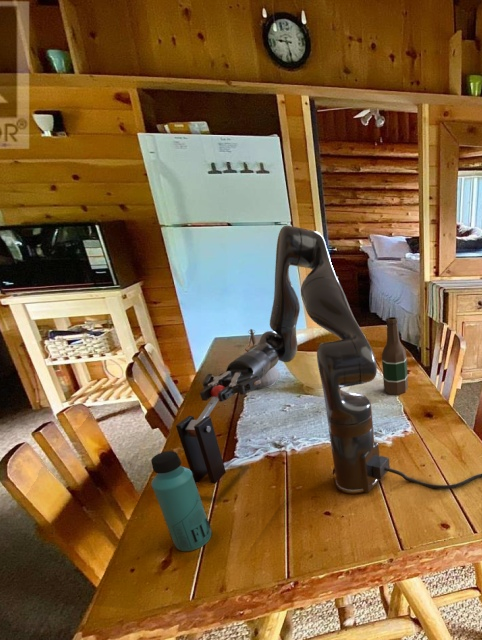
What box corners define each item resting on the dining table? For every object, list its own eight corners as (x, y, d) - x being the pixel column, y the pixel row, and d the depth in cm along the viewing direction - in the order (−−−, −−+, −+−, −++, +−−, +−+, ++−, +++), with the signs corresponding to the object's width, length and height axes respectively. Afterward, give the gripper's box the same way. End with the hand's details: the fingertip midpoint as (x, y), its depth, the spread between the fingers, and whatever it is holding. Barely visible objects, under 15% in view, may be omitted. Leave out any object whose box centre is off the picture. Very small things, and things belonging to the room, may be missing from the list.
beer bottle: (412, 388, 144) (410, 317, 134) (398, 397, 139) (394, 323, 128) (394, 383, 148) (389, 313, 137) (379, 391, 142) (373, 319, 131)
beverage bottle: (199, 560, 79) (166, 469, 70) (167, 555, 80) (131, 464, 71) (222, 535, 85) (195, 447, 76) (192, 530, 86) (162, 443, 77)
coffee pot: (283, 387, 146) (275, 344, 139) (245, 393, 142) (235, 349, 135) (275, 365, 163) (268, 326, 156) (242, 370, 159) (233, 330, 152)
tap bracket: (206, 465, 106) (189, 407, 99) (245, 467, 105) (231, 409, 98) (174, 496, 95) (151, 434, 88) (217, 500, 94) (198, 436, 87)
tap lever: (218, 393, 104) (212, 381, 102) (233, 393, 104) (227, 382, 101) (188, 438, 94) (180, 427, 92) (203, 439, 94) (196, 428, 91)
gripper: (220, 353, 113) (177, 381, 98) (273, 355, 111) (237, 383, 96) (227, 380, 116) (186, 410, 101) (278, 382, 115) (245, 413, 100)
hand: (211, 397), depth 99 cm, fingers closed on tap lever, 3 cm apart
